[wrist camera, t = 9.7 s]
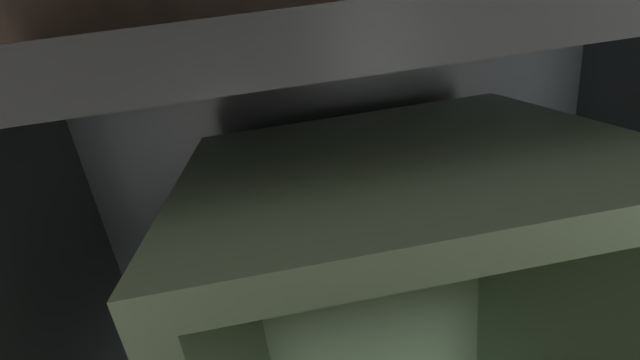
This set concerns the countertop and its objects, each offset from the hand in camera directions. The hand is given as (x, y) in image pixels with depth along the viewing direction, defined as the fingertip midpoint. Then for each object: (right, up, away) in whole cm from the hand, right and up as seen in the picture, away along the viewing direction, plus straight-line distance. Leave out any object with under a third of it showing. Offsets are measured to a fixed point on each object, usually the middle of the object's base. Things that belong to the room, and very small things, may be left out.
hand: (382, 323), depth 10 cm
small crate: (0, +1, +1) cm, 1 cm away
